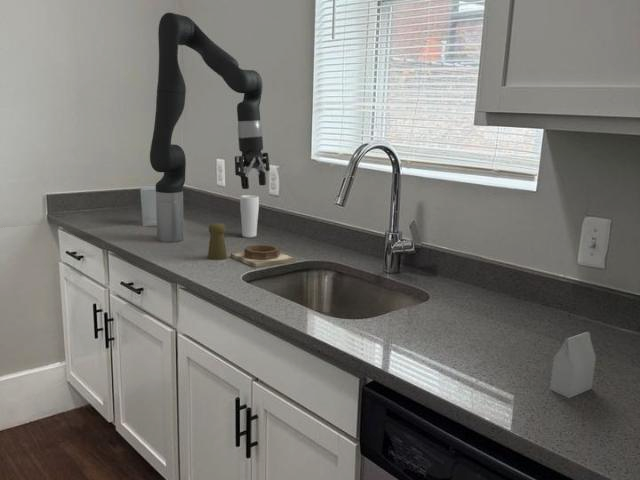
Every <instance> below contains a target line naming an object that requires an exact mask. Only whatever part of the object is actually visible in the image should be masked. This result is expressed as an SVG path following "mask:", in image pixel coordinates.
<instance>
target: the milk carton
mask: <svg viewBox="0 0 640 480" xmlns="http://www.w3.org/2000/svg"><path fill="white" fill-rule="evenodd" d="M590 333H591V332H590V331H585V332H582V333H579V334H576V335H574V336H570V337H567V338H565V339H564V341H563V344H562V345H561V347H560V349H559V350H558V351H557V353H556V354H555V356H554V358H553V363H552V371H551V377H550V385H549V387H550V388H549V390H550V391H552V392H555V393H557V394H559V395H561V396H562V397H563V396H564V397H566V398H567V399H570V398H573V397H575V396H577V395H580V394H582V393H584V392H587V391H590V390H591V389H592V387H593V379H594V373H595V368H596V367H595V366H596V358H597V357H596V353H595V349H594V346H593V343H592V340H591V334H590Z"/></svg>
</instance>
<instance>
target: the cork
mask: <svg viewBox="0 0 640 480" xmlns="http://www.w3.org/2000/svg"><path fill="white" fill-rule="evenodd" d="M208 231H209V234H210V235H209V242H208V243H209V244H208V250H207V259H208V260H212V261H221V260H226V259H228V256H227V249H226V240H225V233H226V226H225V224H224V223H220V222H215V223H211V224H210V225H209V226H208Z"/></svg>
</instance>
